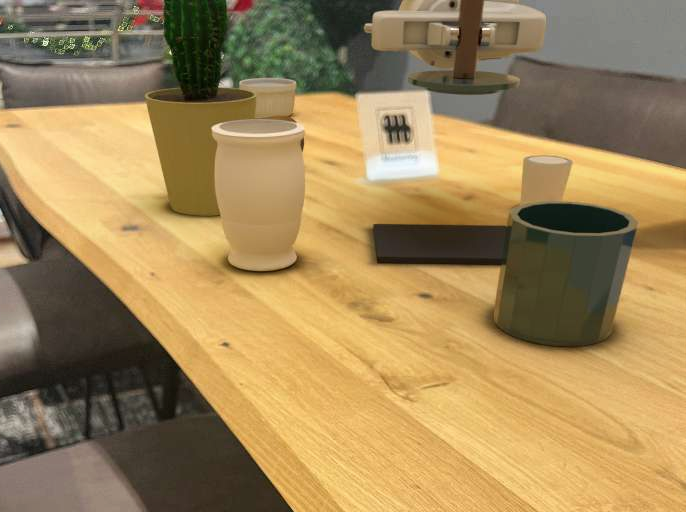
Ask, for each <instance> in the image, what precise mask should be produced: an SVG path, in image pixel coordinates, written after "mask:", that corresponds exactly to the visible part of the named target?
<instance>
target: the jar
mask: <svg viewBox="0 0 686 512" xmlns="http://www.w3.org/2000/svg"><path fill="white" fill-rule="evenodd" d="M305 129H306V128H305V126H304V125H303V124H301V123H298V122H297V123H294V122H289V121H283V120H272V119H248V120H236V121H230V122H224V123H220V124H217V125H215V126H213V127H212V136H213V138H214V139H215V140H216V141H217V144H218V146H217V150H216V156H215V171H214V178H215V191H216V198H217V203H218V207H219V211H220V214H221V215H220V222H221V226H222V230H223V233H224V236H225V239H226V240H227V243H228V245H229V247H231V250H230V251H229V254H228V256H227V260H228V263H229V264H230V265H232V266H234V267H235V268H238V269H240V270H244V271H252V272H269V271H277V270H281V269H285V268H288V267H290V266H292V265H293V264H295V262H296V261H297V253H296V251H295V249H294V248H293V247H294V245H295V244H296V240H297V238H298V236H299V232H300V229H301V221H302V214H303V210H304V209H303V208H304V204H305V203H304V202H305V193H306V169H305V160H304V155H303V152H302V150H301V146H300V141H301V140H302V139H303V137H304V138H305V135H306V131H305Z"/></svg>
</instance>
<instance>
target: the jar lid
mask: <svg viewBox="0 0 686 512" xmlns="http://www.w3.org/2000/svg"><path fill="white" fill-rule="evenodd" d="M484 1H485V0H460V7H459V17H458V26H457V27H459V35H458V45H457V46H455V55H454V65H453V68H452V70H451V69H449V70H448V69H440V70H425V71H418V72H412V73H410V74H408V76H407V83H408V84H410V85H412V86H415V87H418V88H419V87H420V88H423V89H424V90H426V91H428V92H432V93H439V94H445V95H458V96H460V95H461V96H478V95H479V96H480V95H493V94H499V93H500V92H502V91H508V90H512V89H517V88H519V87H520V84H521V78H520V77H519V76H515V75H511V74H507V73H501V72H494V71H493V72H492V71H483V70H481V71H480V70H477V68H478V67H477V66H478V60H477V59H478V51H479V43H480V34H481V26H482V18H483V9H484Z"/></svg>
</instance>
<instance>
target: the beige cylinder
mask: <svg viewBox="0 0 686 512" xmlns="http://www.w3.org/2000/svg"><path fill="white" fill-rule="evenodd" d="M573 163H574V161H573V160H571V159H569V158H568V157H564V156H563V157H562V156H557V155H546V154H545V155H544V154H542V155H529V156H525V157H524V158H523V159H522V173H521V186H520V187H521V190H520V202H519V206H520V205H524V204H527V203H535V202H544V201H563V198H564V195H565V192H566V188H567V185H568V181H569V177H570V175H571V170H572V166H573Z"/></svg>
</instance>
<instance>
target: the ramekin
mask: <svg viewBox="0 0 686 512" xmlns="http://www.w3.org/2000/svg"><path fill="white" fill-rule="evenodd" d="M238 89H244V90H249V91H253V92H255V93H257V96H256V110H255V118H258V117H269V116H287V117H290V116H291V115H292V114H293V112H294V109H295V101H296V99H295V98H296V90H297V81H295V80H293V79H288V78H282V77H281V78H280V77H257V78H246V79H242V80H240V81H239V82H238Z"/></svg>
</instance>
